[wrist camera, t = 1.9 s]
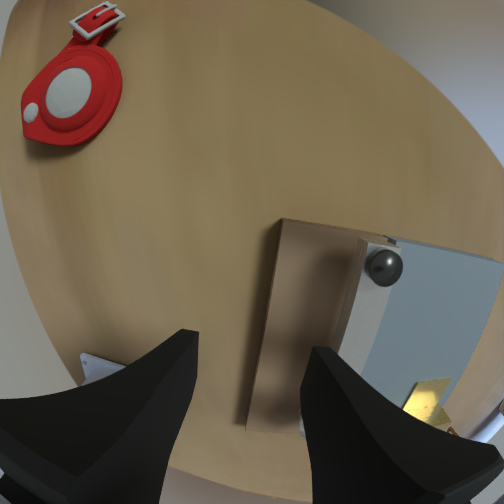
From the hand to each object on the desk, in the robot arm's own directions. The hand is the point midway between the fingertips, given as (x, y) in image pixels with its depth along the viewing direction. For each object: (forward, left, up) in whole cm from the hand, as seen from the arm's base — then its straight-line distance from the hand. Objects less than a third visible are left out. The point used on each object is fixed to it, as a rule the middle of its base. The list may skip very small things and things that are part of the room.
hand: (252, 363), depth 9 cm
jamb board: (-5, -4, -9) cm, 12 cm away
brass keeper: (-9, -17, -7) cm, 21 cm away
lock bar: (-3, -6, -6) cm, 9 cm away
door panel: (-5, -15, -9) cm, 18 cm away
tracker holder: (+14, +15, -10) cm, 23 cm away
